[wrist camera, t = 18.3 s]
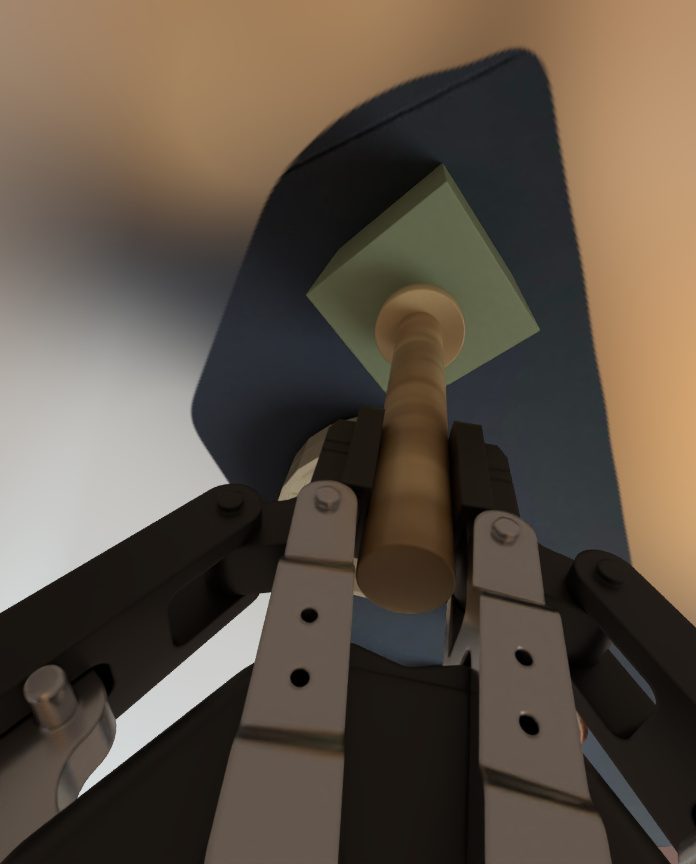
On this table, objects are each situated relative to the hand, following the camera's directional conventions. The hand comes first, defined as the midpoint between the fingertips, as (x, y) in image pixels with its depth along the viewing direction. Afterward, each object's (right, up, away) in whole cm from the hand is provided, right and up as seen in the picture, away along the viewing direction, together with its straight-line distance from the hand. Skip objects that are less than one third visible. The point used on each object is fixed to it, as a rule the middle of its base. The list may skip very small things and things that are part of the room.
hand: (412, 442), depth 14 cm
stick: (+1, +5, +8) cm, 10 cm away
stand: (+3, +11, +18) cm, 21 cm away
